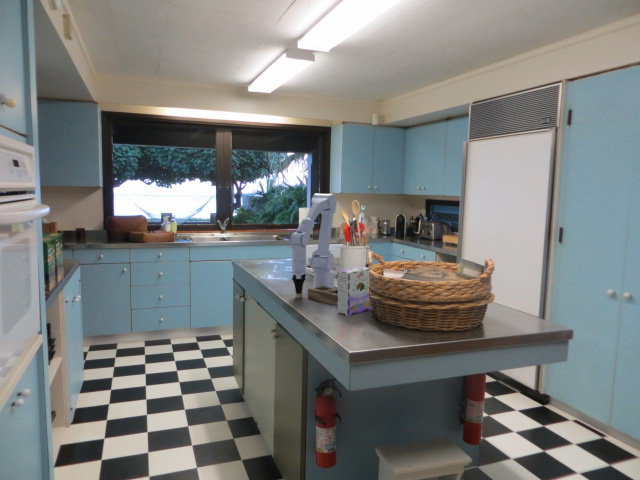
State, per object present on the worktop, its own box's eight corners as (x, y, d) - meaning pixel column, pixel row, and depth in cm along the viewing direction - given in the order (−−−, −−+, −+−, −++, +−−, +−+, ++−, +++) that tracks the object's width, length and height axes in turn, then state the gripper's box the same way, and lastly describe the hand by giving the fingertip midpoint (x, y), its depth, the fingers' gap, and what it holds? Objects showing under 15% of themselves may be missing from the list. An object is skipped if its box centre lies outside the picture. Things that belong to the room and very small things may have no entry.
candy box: (360, 306, 184) (361, 265, 182) (371, 309, 179) (372, 267, 177) (336, 313, 174) (337, 270, 172) (348, 316, 170) (348, 272, 168)
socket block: (322, 294, 203) (322, 285, 202) (350, 301, 192) (350, 291, 191) (308, 298, 196) (308, 288, 196) (335, 305, 185) (335, 295, 185)
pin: (299, 296, 199) (299, 278, 198) (303, 297, 197) (304, 279, 196) (293, 297, 197) (294, 279, 196) (298, 299, 195) (298, 280, 194)
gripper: (290, 257, 202) (290, 288, 204) (288, 263, 188) (288, 296, 189) (306, 258, 202) (306, 288, 204) (306, 263, 188) (305, 296, 189)
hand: (298, 292), depth 196 cm, fingers open, 4 cm apart
